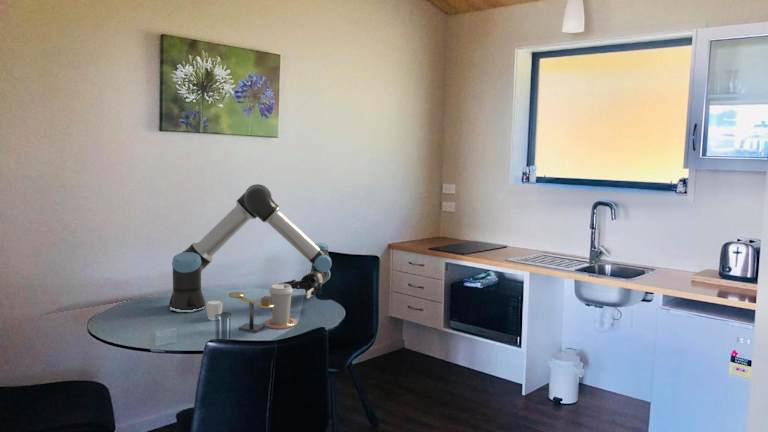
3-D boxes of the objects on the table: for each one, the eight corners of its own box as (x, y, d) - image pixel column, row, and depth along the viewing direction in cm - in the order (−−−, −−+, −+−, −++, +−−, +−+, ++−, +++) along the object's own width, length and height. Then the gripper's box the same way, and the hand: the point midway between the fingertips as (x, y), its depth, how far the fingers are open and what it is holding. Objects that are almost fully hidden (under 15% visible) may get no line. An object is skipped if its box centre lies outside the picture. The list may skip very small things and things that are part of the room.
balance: (226, 328, 245) (226, 294, 243) (233, 323, 251) (233, 291, 249) (269, 334, 240) (270, 300, 238) (276, 329, 246) (277, 296, 244)
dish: (258, 326, 249) (258, 324, 248) (273, 317, 261) (273, 315, 261) (288, 330, 245) (288, 328, 245) (301, 320, 258) (301, 319, 257)
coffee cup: (287, 326, 247) (288, 290, 245) (265, 324, 249) (265, 288, 247) (295, 319, 257) (296, 284, 254) (274, 317, 259) (274, 282, 256)
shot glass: (226, 317, 258) (226, 301, 257) (215, 322, 252) (215, 305, 251) (213, 314, 261) (213, 298, 260) (202, 319, 255) (202, 303, 254)
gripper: (337, 292, 280) (319, 305, 259) (286, 286, 286) (265, 298, 266) (337, 276, 278) (320, 287, 258) (286, 270, 285) (265, 281, 265)
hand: (292, 293), depth 262 cm, fingers open, 13 cm apart
